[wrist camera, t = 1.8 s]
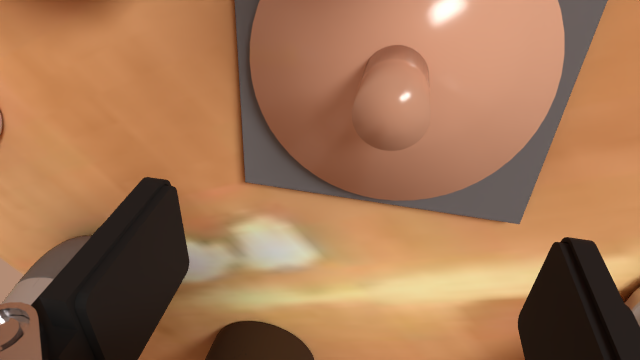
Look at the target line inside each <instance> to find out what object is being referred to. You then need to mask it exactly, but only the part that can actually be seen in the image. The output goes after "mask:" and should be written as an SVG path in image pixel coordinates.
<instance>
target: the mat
mask: <svg viewBox="0 0 640 360" xmlns="http://www.w3.org/2000/svg"><path fill="white" fill-rule="evenodd" d="M259 1H260V0H235V15H236V31H237V48H238V65H239V82H240V99H241V116H242V132H243V149H244V166H245V182H248V183H254V184H261V185H267V186H274V187H280V188H287V189H294V190H300V191H307V192H313V193H320V194H326V195H333V196H339V197H346V198H352V199H359V200H365V201H372V202H378V203H385V204H391V205H398V206H404V207H411V208H417V209H424V210H431V211H437V212H444V213H450V214H457V215H463V216H470V217H476V218H483V219H489V220H496V221H502V222H509V223H515V224H520V221H521V219H522V216H523V214H524V211H525V209H526V206H527V204H528V201H529V199H530V196H531V194H532V191H533V188H534V186H535V183H536V181H537V178H538V176H539V173H540V171H541V168H542V166H543V163H544V160H545V158H546V155H547V153H548V150H549V148H550V145H551V143H552V140H553V138H554V135H555V133H556V130H557V127H558V125H559V122H560V120H561V117H562V115H563V112H564V110H565V107H566V105H567V102H568V100H569V97H570V94H571V92H572V89H573V87H574V84H575V82H576V79H577V77H578V74H579V72H580V69H581V67H582V64H583V61H584V59H585V56H586V54H587V51H588V49H589V46H590V44H591V41H592V39H593V36H594V34H595V31H596V28H597V26H598V23H599V21H600V18H601V16H602V13H603V11H604V8H605V6H606V3H607V1H608V0H558V3H559V6H560V9H561V13H562V20H563V26H564V61H563V68H562V75H561V78H560V82H559V85H558V89H557V92H556V95H555V98H554V100H553V102H552V104H551V107H550V109H549V111H548V113H547V115H546V117H545V118H544V120H543V122H542V123H541V125H540V127H539V128H538V130H537V131H536V133H535V134H534V135H533V136H532V138H531V139H530V140H529V141H528V143H527V144H526V145H525V146H524V147H523V148H522V149H521V150H520V151H519V152H518V153H517V154H516V155H515V156H514V157H513V158H512V159H511V160H510V161H509V162H507V163H506V164H505V165H503V166H502V167H501V168H500V169H498V170H497V171H496V172H494V173H492V174H491V175H489V176H487V177H486V178H484V179H482V180H481V181H479V182H477V183H475V184H473V185H470V186H468V187H466V188H464V189H461V190H458V191H455V192H452V193H449V194H447V195H442V196H438V197H433V198H428V199H420V200H404V201H394V200H383V199H375V198H370V197H365V196H361V195H358V194H355V193H351V192H348V191H345V190H343V189H341V188H338V187H336V186H334V185H331V184H329V183H328V182H326V181H324V180H322V179H321V178H319V177H317V176H316V175H314V174H313V173H311V172H310V171H309V170H307V169H306V168H305V167H303V166H302V165H301V164H300V163H299V162H298V161H297V160H295V159H294V158H293V157H292V156H291V155H290V154H289V153H288V152H287V150H286V149H285V148H284V147H283V146H282V145H281V143H280V142H279V141H278V139H277V138H276V137H275V135H274V134H273V132H272V131H271V129H270V128H269V126H268V124H267V122H266V120H265V118H264V116H263V114H262V112H261V109H260V107H259V104H258V101H257V99H256V95H255V91H254V87H253V83H252V78H251V69H250V39H251V32H252V25H253V21H254V17H255V14H256V10H257V7H258V3H259Z"/></svg>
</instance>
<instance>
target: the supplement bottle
mask: <svg viewBox="0 0 640 360" xmlns="http://www.w3.org/2000/svg"><path fill="white" fill-rule="evenodd" d="M1 131H2V116H1V113H0V134H1Z"/></svg>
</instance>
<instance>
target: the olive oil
mask: <svg viewBox="0 0 640 360" xmlns="http://www.w3.org/2000/svg"><path fill="white" fill-rule="evenodd" d="M205 360H314V358H313V355H312V353H311V352H310V350H309V349H308V347H307V346H306V345H305V344H304V343H303V342H302V341H301V340H300V339H298V338H297V337H296V336H294V335H293V334H291V333H289V332H288V331H286V330H284V329H281V328H279V327H276V326H273V325H270V324H266V323H261V322H238V323H234V324H231V325H229V326H227V327H225V328H223V329H222V330H221V331H220V332H219V334H218V335H217V337H216V338H215V340H214V342H213V344H212V346H211V348H210V351H209V353H208V355H207V357H206V359H205Z"/></svg>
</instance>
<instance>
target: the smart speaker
mask: <svg viewBox="0 0 640 360" xmlns="http://www.w3.org/2000/svg"><path fill="white" fill-rule="evenodd" d="M90 237H91V236H81V237H76V238H73V239H69V240H67V241H65V242H62V243H61V244H59V245H57V246H56V247H54V248H53V249H51V250H50V251H48V252H47V253H46V254H45V255H43V256H42V257H41V258H40V259H39V260H38V261H37V262H36V263H35V264H34V265H33V266H32V267H31V268H30V269H29V270H28V272H27V273H26V274H25V275H24V276H23V277H22V278H21V280H20V281H19V282H18V283H17V284H16V285H15V287H14V288H13V289H12V291H11V292H10V293H9V295H8V296H7V297H6V298H5V300H4V301H3V302H2V304H4V303H9V302H22V303H25V304H29V305H31V304H32V303H33V302H34V301H35V300H36V299H37V298H38V296H39V295H40V294H41V293H42V292H43V291H44V290H45V288H46V287H47V286H48V285H49V284H50V283H51V282H52V281H53V279H54V278H55V277H56V276H57V275H58V274H59V273H60V271H61V270H62V269H63V268H64V267H65V266H66V265H67V264H68V262H69V261H70V260H71V259H72V258H73V257H74V256H75V254H76V253H77V252H78V251H79V250H80V249H81V248H82V247H83V245H84V244H85V243H86V242H87V241H88V240H89V239H90Z"/></svg>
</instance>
